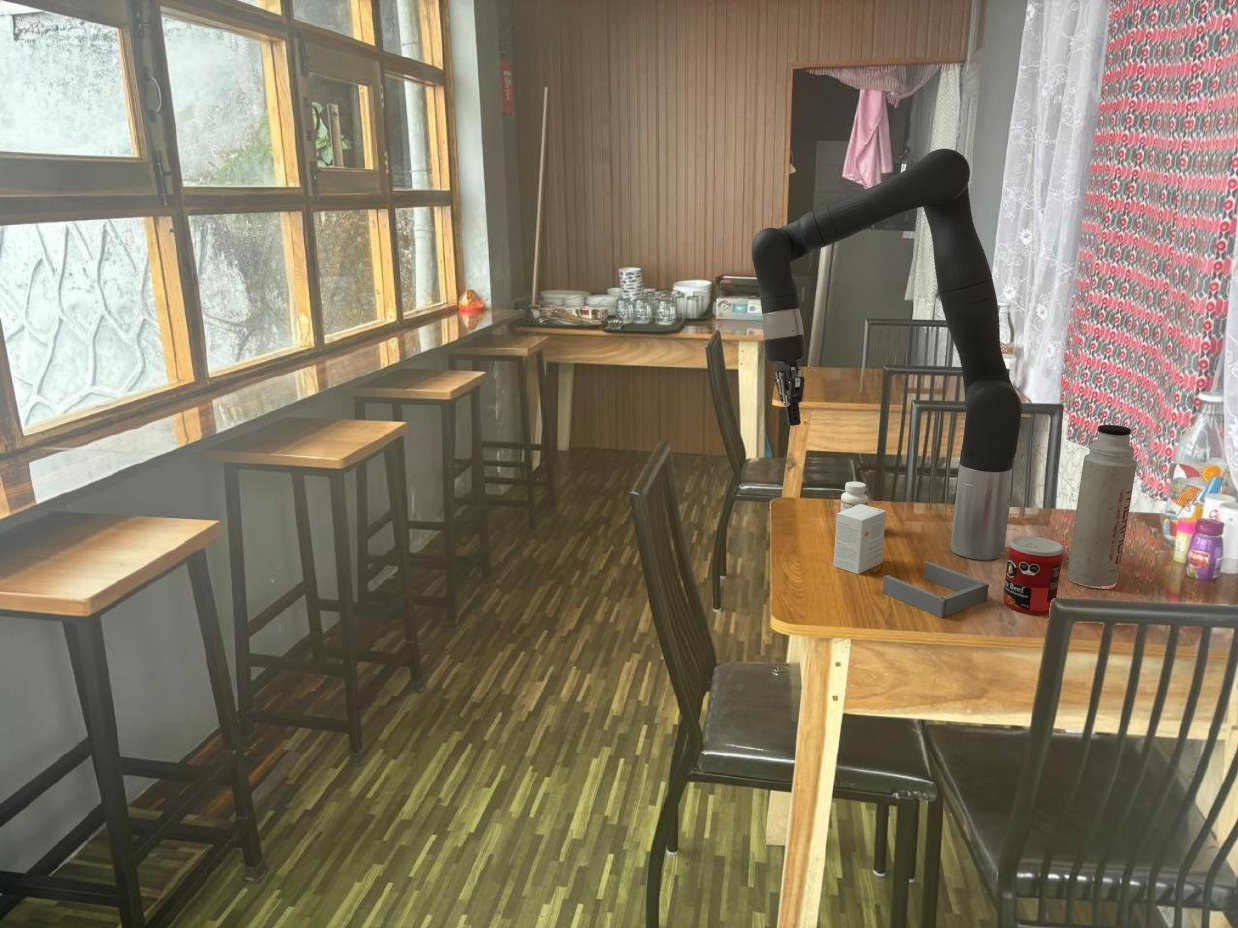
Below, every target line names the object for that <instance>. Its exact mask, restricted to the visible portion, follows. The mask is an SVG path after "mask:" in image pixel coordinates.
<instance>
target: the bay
mask: <svg viewBox="0 0 1238 928" xmlns="http://www.w3.org/2000/svg"><path fill="white" fill-rule="evenodd" d="M923 575H924V577H923V579H924V580H927V581H930V582H931V583H934V584H937V585H940V586H942V587H944V588H947V589H950V590H952V591H954V592H952V593H949V594H947V595H944V596H939V595H937V594H935V593H934V592H933V593H932V592H929V591H928V590H925V589H923V588H920V587H918V586H915V585H913V584H910V583H908V582H906V581H903V580H901V579H899V578H896V577H895V576H894V577H893V576H891V575H889V574H886V575H884V576H883V580H882V590H881V593H883V594H885V595H888V596H890V597H892V598H894V599H896V600H899V601H901V602H904V603H905V604H908V605H910V606H913V607H915V608H917V609H919V610H922V611H924V612H927V613H929V614H931V615H933V616H936V617H937V618H938V617H939V618H941V619H942V618H944V617H947V616H949V615H953V614H955V613H958V612H960V611H963V610H966V609H968V608H971V607H973V606H976V605H980V604H982V603H985V602H987V601H988V595H989V586H990V584H989V583H986V582H984V581H982V580H979V579H975V578H973V577H971V576H968V575H965V574H963V573H960V572H958V571H955V570H953V569H950V568H948V567H944V566H941V565H940V564H936V563H934V562H931V561H927V562H925V566H924V574H923Z"/></svg>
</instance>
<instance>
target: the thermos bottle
mask: <svg viewBox="0 0 1238 928" xmlns="http://www.w3.org/2000/svg"><path fill="white" fill-rule="evenodd" d="M1097 431H1098V433H1097V437H1096V441H1093V442H1092V443H1091V444H1090V445H1089V447H1088V451H1089V453H1088V454H1086V455H1084V457H1083V463H1082V467H1081V468H1082V469H1081V475H1080V476H1081V477H1080V483H1079V488H1078V496H1077V503H1076V511H1075V515H1074V516H1075V518H1074V523H1073V524H1074V525H1073V534H1072V539H1071V545H1070V550H1069V551H1070V552H1069V556H1068V557H1069V558H1068V564H1067V565H1068V566H1067V571H1066V577H1067V576H1068V578H1069V579H1071V580H1072V581H1075V582H1077V583H1080V584H1083V585H1088V586H1097V587H1099V586H1100V587H1101V586H1110V585H1113V584H1115V583H1116V582H1117V581H1118V580H1119V575H1120V570H1121V569H1120V568H1121V562H1122V556H1123V549H1124V544H1125V538H1126V530H1127V526H1128V519H1129V514H1130V506H1131V501H1132V494H1133V489H1134V484H1135V483H1134V482H1135V477H1136V471H1137V464H1138V462H1137V461H1136V460H1135V459H1134V456H1135V449H1134V447H1133V446H1131V445H1130V441H1131V437H1130V435H1131V432H1132V429H1131V428H1129V427H1126V426H1122V425H1117V424H1101V425H1100V424H1099V426H1098V427H1097ZM1068 578H1067V579H1068ZM1117 583H1118V582H1117Z"/></svg>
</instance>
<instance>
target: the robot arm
mask: <svg viewBox="0 0 1238 928" xmlns="http://www.w3.org/2000/svg"><path fill="white" fill-rule="evenodd" d="M970 178H971V167H970V165H969V162H968V160H967V158H965V156H964V155H963V154H962V153H961V152H959V151H956V150H955V149H951V148H937V149H936V150H932V151H931V152H928V153H927V154H926V155H925V156H923V157H922V158H921V159H920V160H919V161H917V162H915V163H914V164H912V165H911V166H909V167H907V168H905V170H903V171H901V172H900V173H899V172H898V173H897V174H896V175H893V176H892V177H890V178H888V179H885V180H884V181H881V182H879V183H877V184H876V185H872V186H871V187H868V188H866V189H863V190H859V191H858V192H854V193H851V194H849V195H846V196H844V197H840V198H838V199H836V200H833V201H832V202H831V201H830V202H829V203H826V204H824V205H822V206H820V207H818V208H814V209H813V210H810V211H809V212H806V213H805V214H803V215H802V216H801V217H800V218H799V219H798V220H795V221H792V222H790V223H788V224H786V225H784V226H781V227H778V228H775V227H765V228H763V229H761V230H760V231H759V232H757V233H756V235H754V237H753V239H752V242H751V259H752V264H753V269H754V272H755V276H756V281H757V283H758V289H759V299H760V310H761V315H762V316H761V318H762V320H761V321H762V323H761V324H762V325H761V326H762V334H763V343H764V350H765V351H764V354H765V358H766V362H767V363H776V371H775V377H774V379H773V380H774V383H775V386H776V389H777V392H778V396H779V399H780V402H781V403H782V405H783V407H785V413H786V419H787V420H786V421H787V425H788V426H790V427H792V426H793V427H795V426H799V425H801V423H802V422H801V420H802V419H801V413H800V405H801V403H802V402H803V395H804V388H805V387H804V386H805V377H804V376H803V375H802V370H801V368H799V364H798V361H797V360H799V359H803V358H805V357H806V355H807V353H806V343H805V335H804V326H803V319H802V316H801V311H800V304H799V296H798V289H797V284H796V281H795V280H794V279H793V273H792V266H791V263H792V262H794V261H796V260H799V259H801V258H803V257H804V256H806V255H808V254H810V253H811V252H814V251H816V250H821V249H823V248H825V247H828V246H831V245H833V244H835V243H837V242H839V241H842V240H845V239H847V238H850V237H851V236H854V235H856V234H858V233H860V232H862V231H865V230H866V229H868V228H870V227H872V226H874V225H876V224H879V223H881V222H882V221H885V220H887V219H890V218H892V217H894V216H898V215H899V214H902V213H906V212H909V211H911V210H915V209H920V208H922V209H923V211H924V215H925V218H926V220H927V223H928V226H929V230H930V234H931V241H932V251H933V263H934V269H935V279H936V284H937V289H938V290H937V291H938V292H939V293H938V295H939V299H940V303H941V306H942V311H943V316H944V318H945V322H946V325H947V328H948V331H949V333H950V336H951V339H952V341H953V344H954V346H955V349H956V351H957V354H958V358H959V361H960V366H961V373H962V380H963V390H964V391H963V393H964V408H965V412H966V413H965V420H964V421H965V422H964V430H963V439H962V445H961V449H960V454H959V455H960V456H959V464H958V465H959V467H958V474H957V482H956V483H957V484H956V492H955V494H956V495H955V502H954V509H953V510H954V512H953V520H952V521H953V522H952V530H951V540H950V551H951V552H953V553H954V554H956V555H957V556H960V557H963V558H966V559H970V560H971V559H972V560H978V561H990V560H991V561H992V560H995V559H999V558H1001V556H1002V554H1003V553H1004V552H1005V547H1006V538H1007V531H1008V524H1009V517H1010V516H1009V515H1010V507H1011V506H1010V503H1009V497H1010V490H1011V481H1012V473H1013V467H1014V466H1013V465H1014V459H1015V458H1016V457H1015V456H1016V453H1017V450H1018V449H1017V448H1018V441H1019V435H1020V428H1021V421H1022V410H1023V409H1022V401H1021V398H1020V397H1019V395H1018V392H1017V391H1016V389H1015V387H1014V385H1013V382H1012V380H1011V377H1010V374H1009V372H1008V368H1007V366H1006V362H1005V359H1004V356H1003V352H1002V345H1001V333H1000V330H1001V329H1000V325H1001V323H1000V314H999V305H998V299H997V293H996V288H995V283H994V281H993V274H992V272H991V268H990V265H989V261H988V259H987V255H986V252H985V250H984V246H983V245H982V242H981V239H980V238H979V235H978V232H977V230H976V227H975V224H974V220H973V214H972V208H971V202H970V191H969V190H970V189H969V182H970Z"/></svg>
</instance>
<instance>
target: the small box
mask: <svg viewBox="0 0 1238 928" xmlns="http://www.w3.org/2000/svg"><path fill="white" fill-rule="evenodd" d="M886 516H887V511H886V510H884V509H881V508H876V507H873V506H870V505H868V506H867V505H863V504H859V505H857V506H854V507H852V508H849V509H846V510H844V511H841V512H840V511H839V512H836V519H835V520H836V523H835V533H834V534H835V535H834V536H835V537H834V549H833V551H834V552H833V567H834V568H838V569H841V570H844V571H847V572H850V573H852V574H856V575H860V574H862V573H864V572H867V571H868V570H871V569H872V568H875V567H876V566H878V565H880V564H882V562H883V553H884V552H883V551H884V540H885V528H886V520H887V519H886V518H887V517H886Z"/></svg>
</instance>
